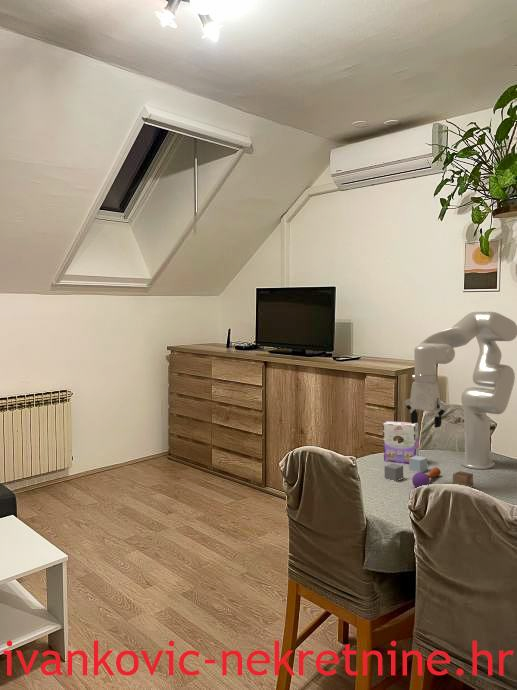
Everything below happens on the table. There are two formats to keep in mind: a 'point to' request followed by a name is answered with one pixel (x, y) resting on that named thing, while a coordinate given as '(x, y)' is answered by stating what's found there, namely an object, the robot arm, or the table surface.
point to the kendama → (425, 477)
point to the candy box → (400, 441)
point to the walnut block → (463, 478)
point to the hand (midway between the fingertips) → (425, 425)
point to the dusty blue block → (418, 463)
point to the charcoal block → (393, 472)
